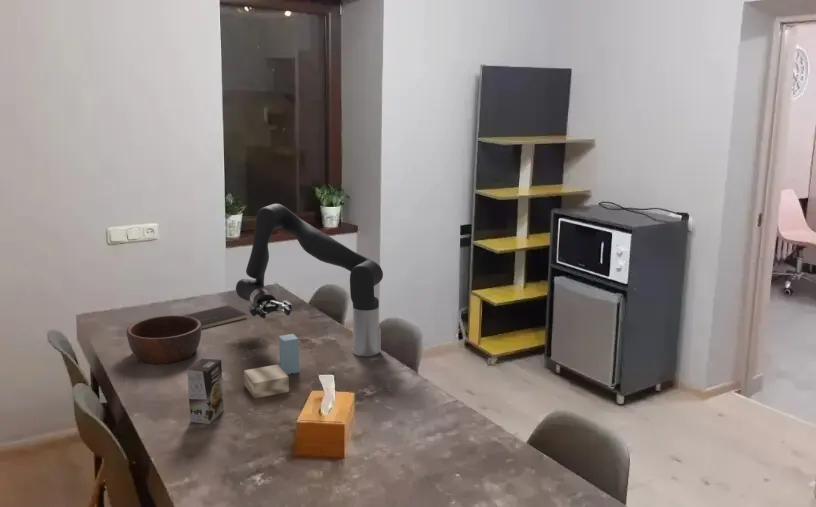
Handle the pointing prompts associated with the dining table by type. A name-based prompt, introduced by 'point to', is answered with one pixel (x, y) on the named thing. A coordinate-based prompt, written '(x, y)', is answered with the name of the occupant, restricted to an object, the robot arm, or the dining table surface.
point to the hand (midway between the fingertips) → (276, 314)
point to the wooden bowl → (164, 338)
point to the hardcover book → (217, 316)
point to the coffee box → (205, 390)
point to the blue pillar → (289, 353)
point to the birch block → (266, 381)
